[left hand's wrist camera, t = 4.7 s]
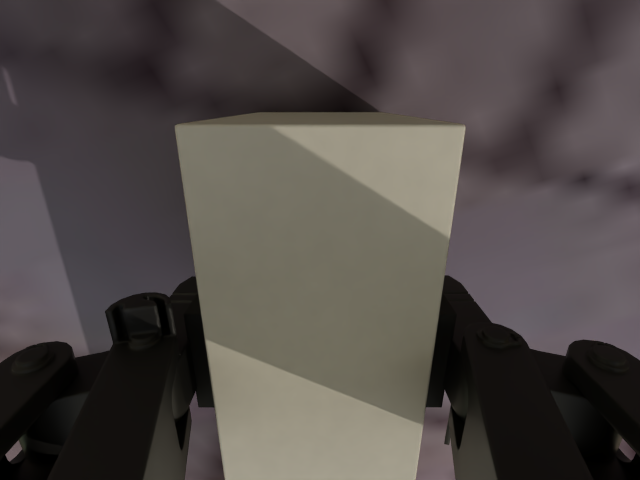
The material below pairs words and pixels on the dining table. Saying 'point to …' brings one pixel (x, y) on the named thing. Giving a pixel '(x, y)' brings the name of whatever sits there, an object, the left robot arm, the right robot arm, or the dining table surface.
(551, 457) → the left robot arm
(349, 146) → the post
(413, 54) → the dining table surface
